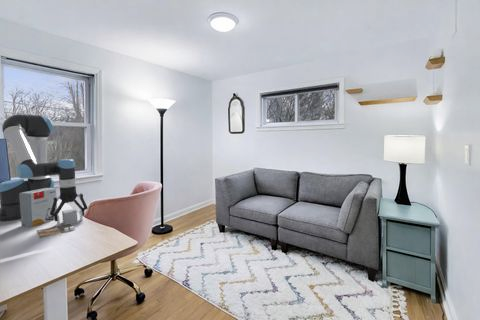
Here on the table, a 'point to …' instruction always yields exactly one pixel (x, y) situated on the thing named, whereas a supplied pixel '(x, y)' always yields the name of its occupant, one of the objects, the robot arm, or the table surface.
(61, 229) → the laminate strip
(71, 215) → the block
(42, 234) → the board
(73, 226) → the spacer wedges
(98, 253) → the table surface
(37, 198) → the hard drive box
